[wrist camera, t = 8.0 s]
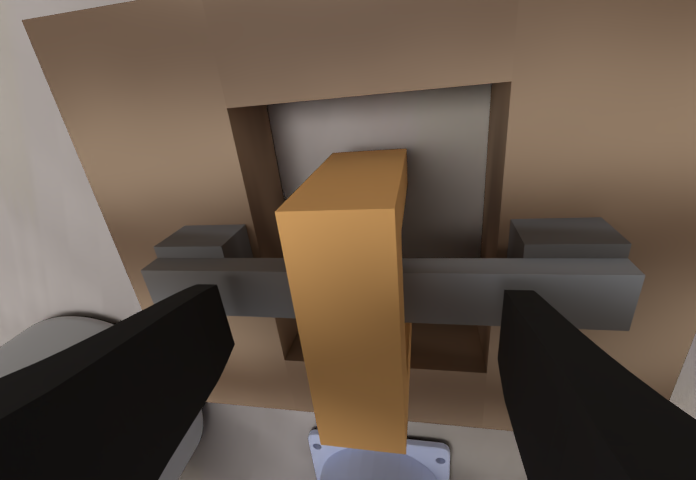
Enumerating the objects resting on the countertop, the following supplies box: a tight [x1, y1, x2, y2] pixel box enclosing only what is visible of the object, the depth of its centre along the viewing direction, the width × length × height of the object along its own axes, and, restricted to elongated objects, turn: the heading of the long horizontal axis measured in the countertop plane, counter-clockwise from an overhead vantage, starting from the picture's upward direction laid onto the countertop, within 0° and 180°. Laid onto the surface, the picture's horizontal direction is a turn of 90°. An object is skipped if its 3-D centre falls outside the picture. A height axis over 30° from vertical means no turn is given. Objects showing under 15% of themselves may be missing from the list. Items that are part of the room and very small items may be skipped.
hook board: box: [22, 0, 696, 431], centre depth 12 cm, size 16×20×6 cm
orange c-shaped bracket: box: [275, 149, 412, 455], centre depth 11 cm, size 7×2×6 cm, turn 6°
